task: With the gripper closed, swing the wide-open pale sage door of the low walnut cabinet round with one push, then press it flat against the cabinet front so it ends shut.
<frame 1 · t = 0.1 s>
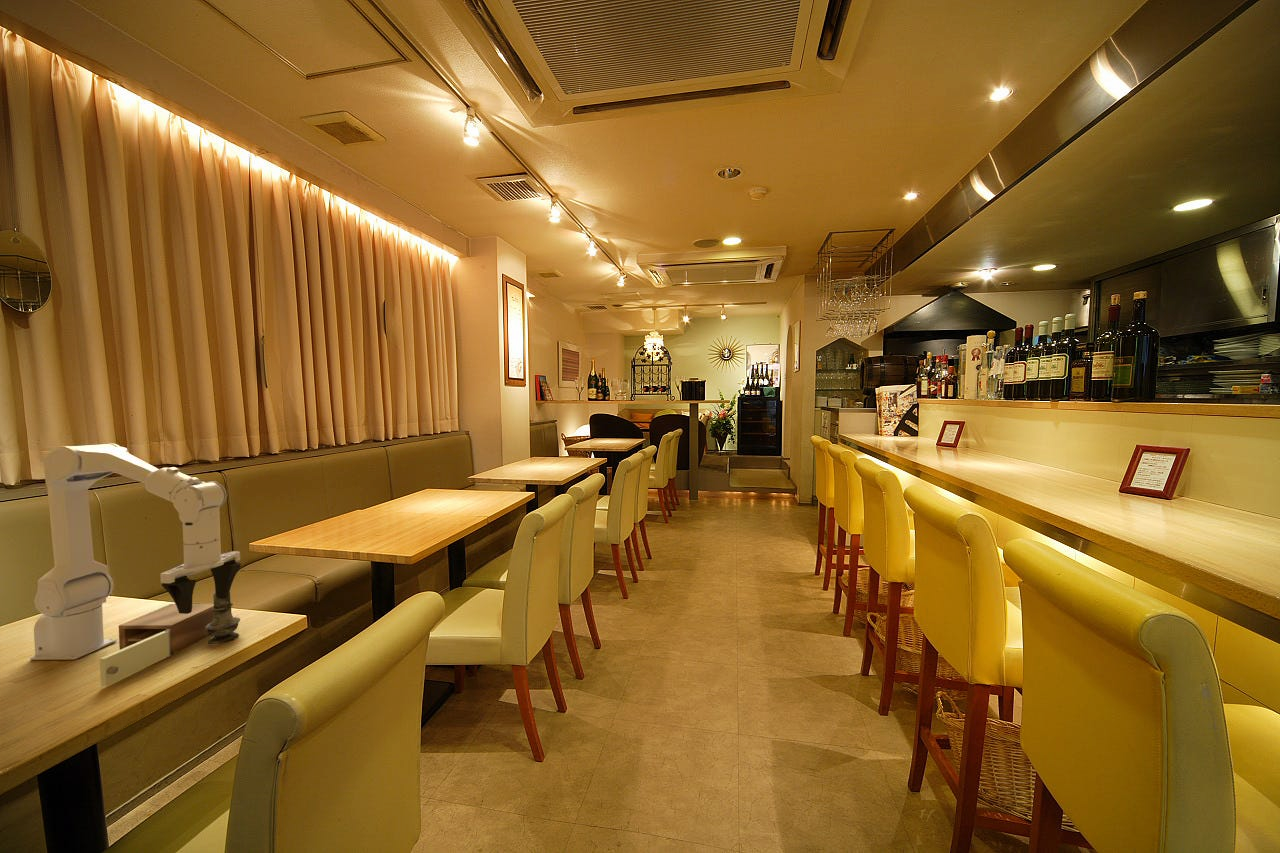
hand: (204, 605, 100), 10 cm above the table, fingers open, 7 cm apart
door: (140, 656, 92), point 3 cm above the table, hinge at 85.0°
dark tiered stone ornament: (223, 639, 106), on the table
cabinet: (172, 642, 104), on the table
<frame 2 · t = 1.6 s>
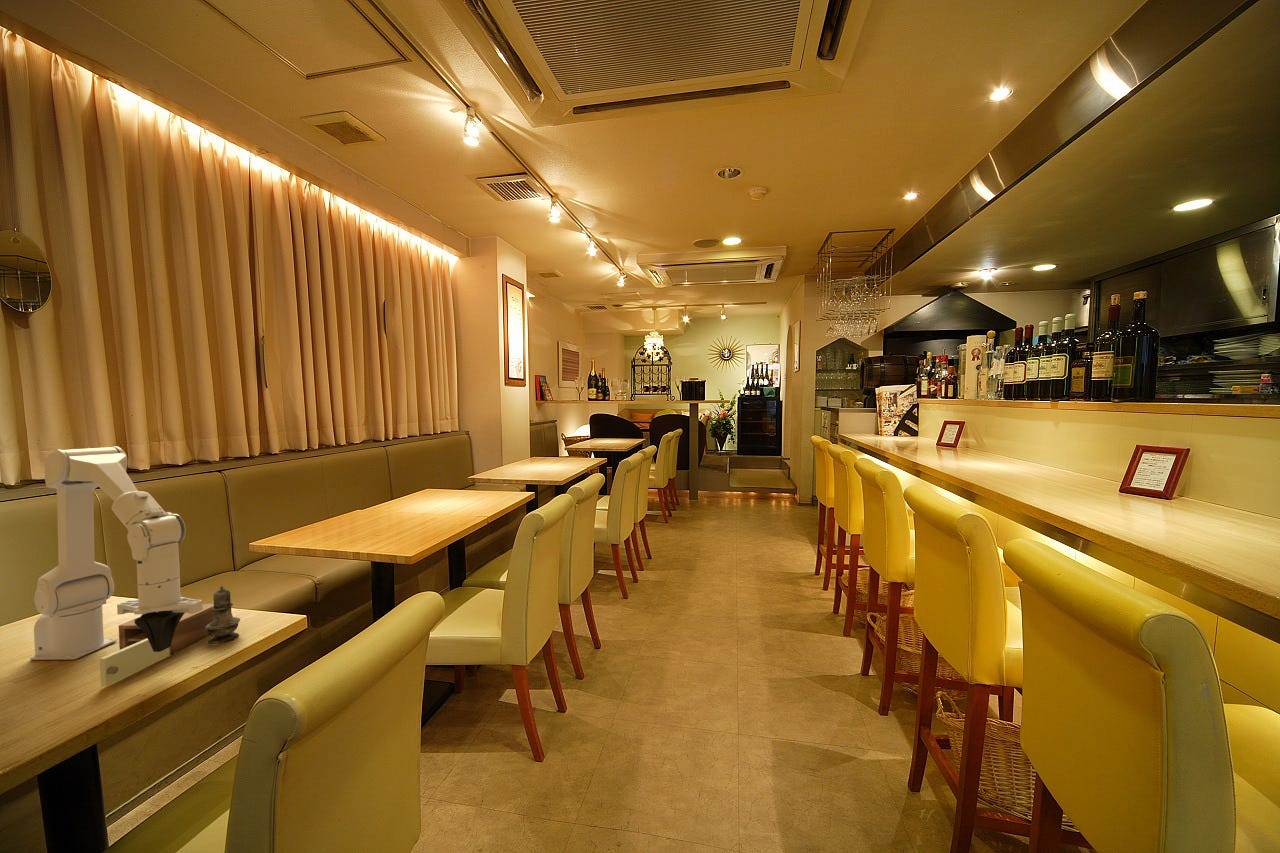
hand: (162, 649, 92), 5 cm above the table, fingers closed
nothing on the table moved.
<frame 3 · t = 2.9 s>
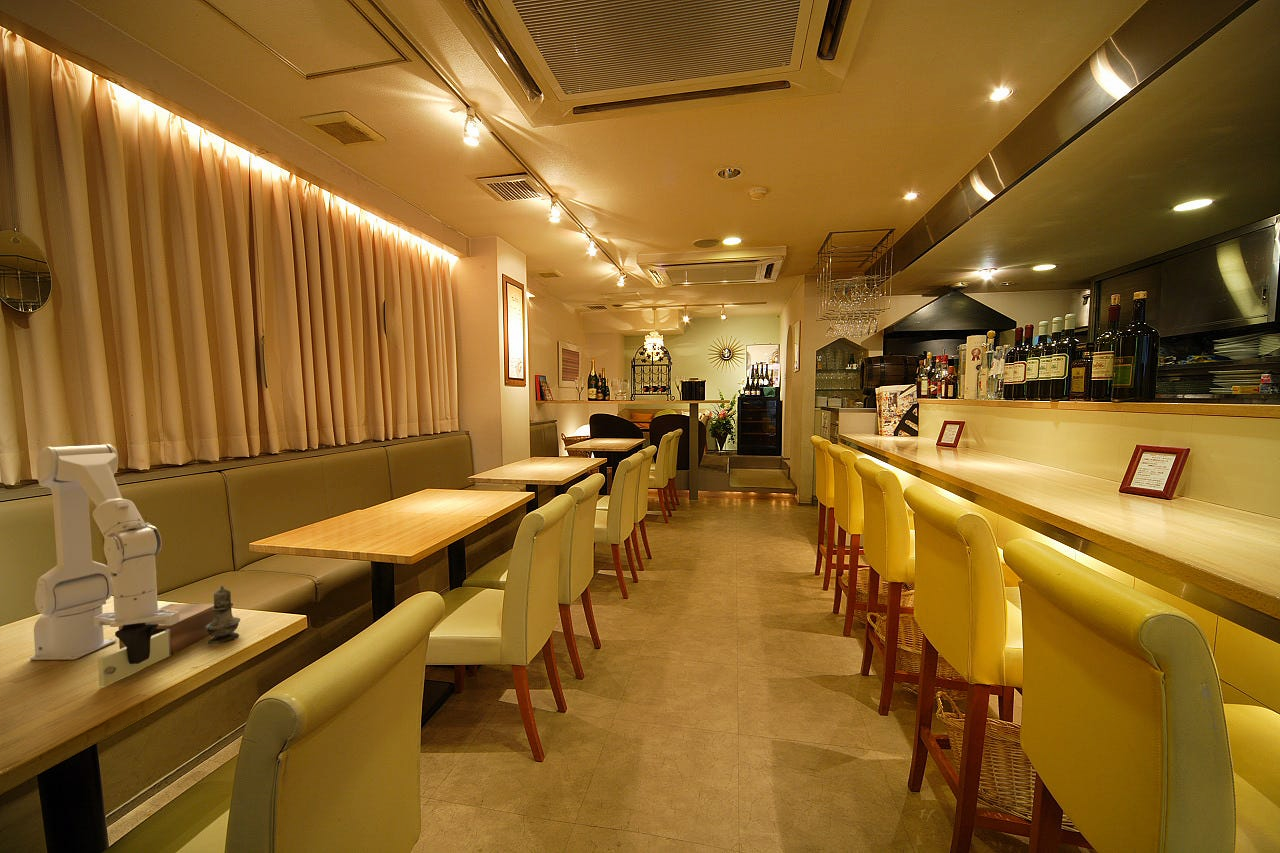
hand: (139, 661, 92), 2 cm above the table, fingers closed, pressing on door
door: (139, 656, 92), point 3 cm above the table, hinge at 82.7°, touching gripper
everything else where it was.
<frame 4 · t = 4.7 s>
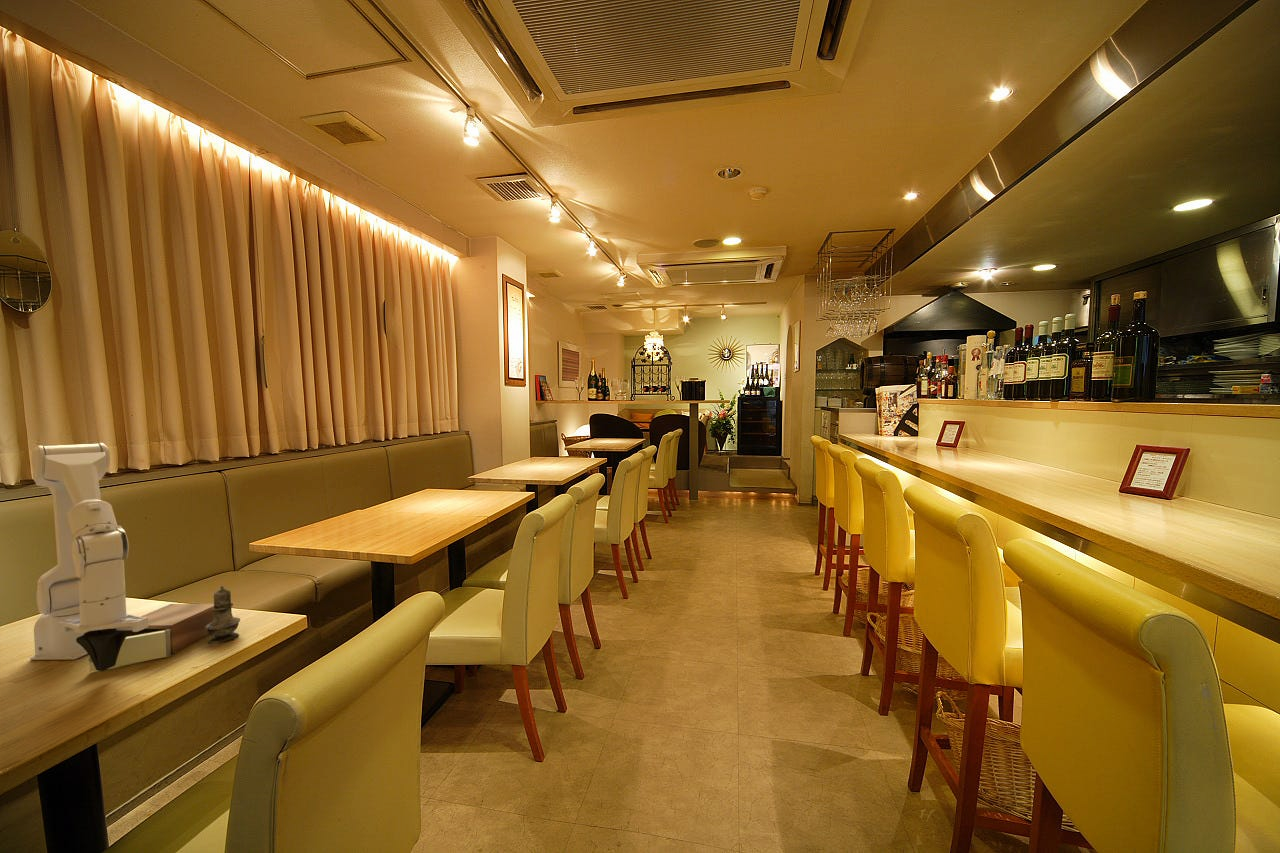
hand: (106, 667, 89), 2 cm above the table, fingers closed
door: (130, 651, 95), point 3 cm above the table, hinge at 30.4°
everything else where it was.
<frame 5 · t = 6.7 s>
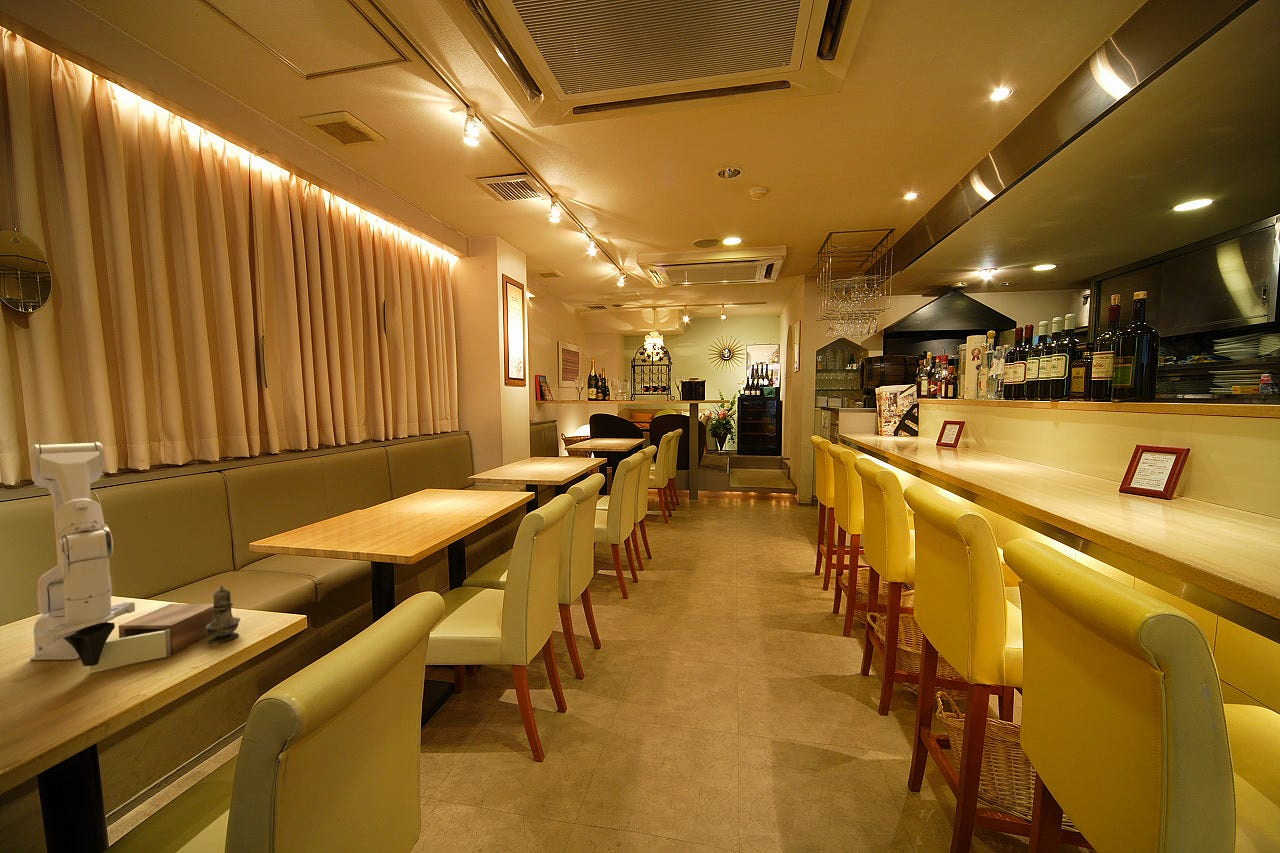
hand: (91, 664, 91), 2 cm above the table, fingers closed, pressing on door
door: (130, 651, 95), point 3 cm above the table, hinge at 30.3°, touching gripper
everything else where it was.
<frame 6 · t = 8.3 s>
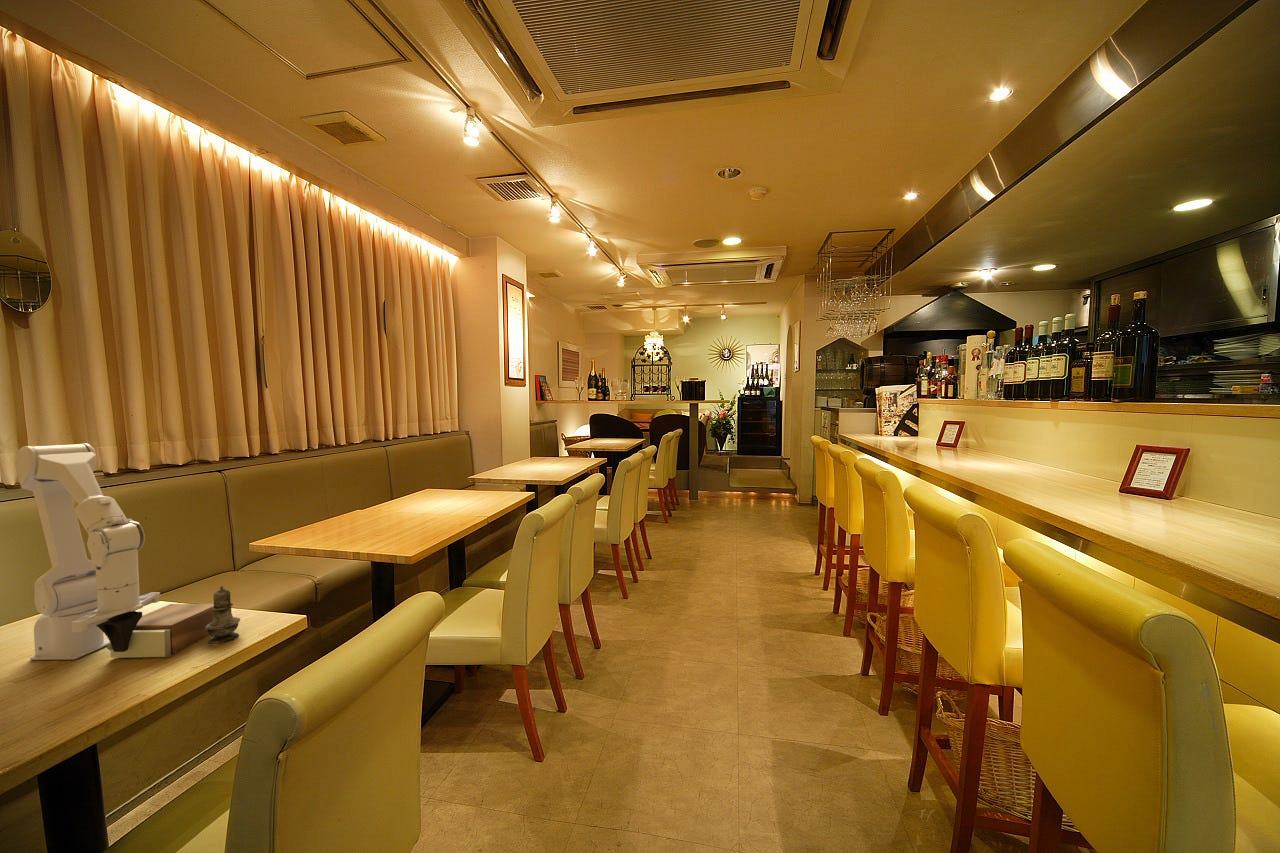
hand: (120, 651, 96), 2 cm above the table, fingers closed
door: (139, 644, 97), point 3 cm above the table, hinge at 1.7°, touching gripper
everything else where it was.
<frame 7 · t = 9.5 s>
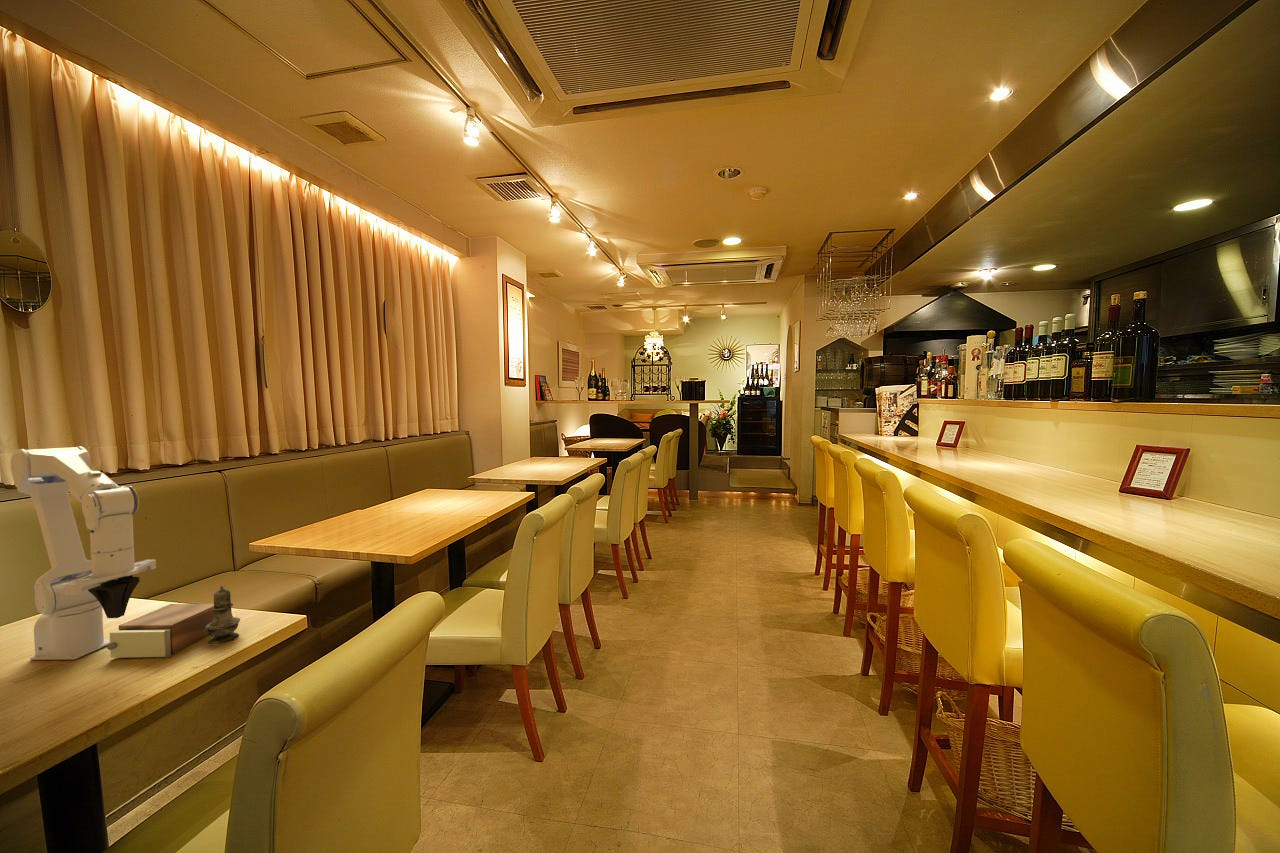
hand: (115, 616, 94), 10 cm above the table, fingers closed
door: (139, 644, 97), point 3 cm above the table, hinge at 1.6°
everything else where it was.
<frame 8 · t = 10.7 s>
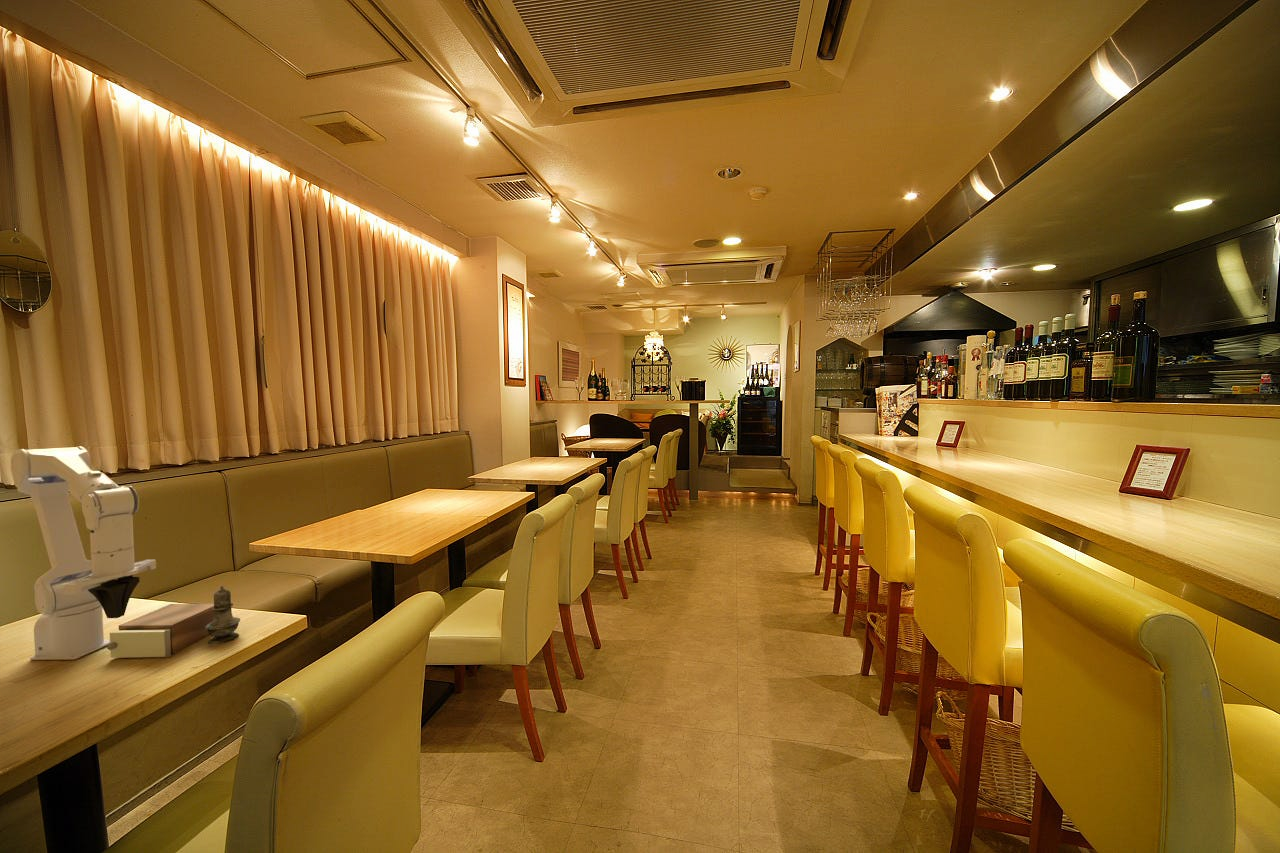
hand: (115, 616, 94), 10 cm above the table, fingers closed
nothing on the table moved.
at the end: door at +2° (first picture: +85°) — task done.
